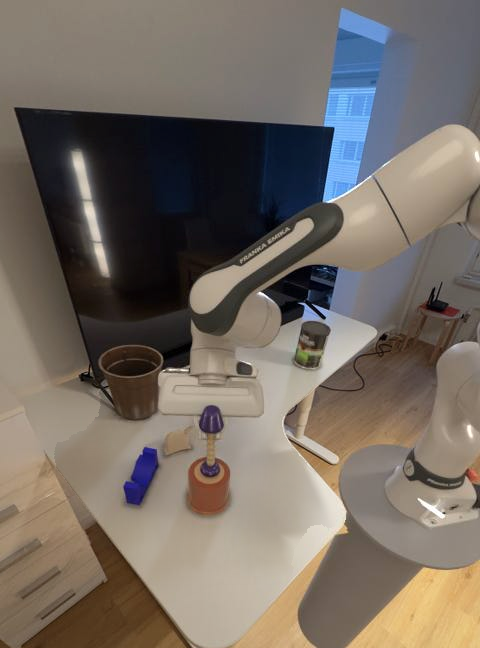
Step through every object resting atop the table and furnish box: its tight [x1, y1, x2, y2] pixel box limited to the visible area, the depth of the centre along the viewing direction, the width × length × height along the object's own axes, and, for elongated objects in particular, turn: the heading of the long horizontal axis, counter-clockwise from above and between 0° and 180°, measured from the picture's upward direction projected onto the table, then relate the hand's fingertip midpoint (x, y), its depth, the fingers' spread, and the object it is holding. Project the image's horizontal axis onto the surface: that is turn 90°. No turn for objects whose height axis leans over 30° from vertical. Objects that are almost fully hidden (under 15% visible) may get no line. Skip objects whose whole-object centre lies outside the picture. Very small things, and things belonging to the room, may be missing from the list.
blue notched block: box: [122, 446, 160, 507], centre depth 79 cm, size 12×4×6 cm, turn 170°
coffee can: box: [293, 320, 332, 371], centre depth 123 cm, size 10×10×14 cm
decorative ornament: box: [163, 425, 194, 456], centre depth 89 cm, size 4×8×5 cm, turn 115°
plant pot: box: [98, 344, 164, 421], centre depth 95 cm, size 16×16×16 cm
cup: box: [186, 456, 231, 516], centre depth 76 cm, size 10×10×9 cm
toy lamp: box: [198, 405, 224, 477], centre depth 67 cm, size 5×5×17 cm
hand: (210, 440), depth 66 cm, fingers closed on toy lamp
